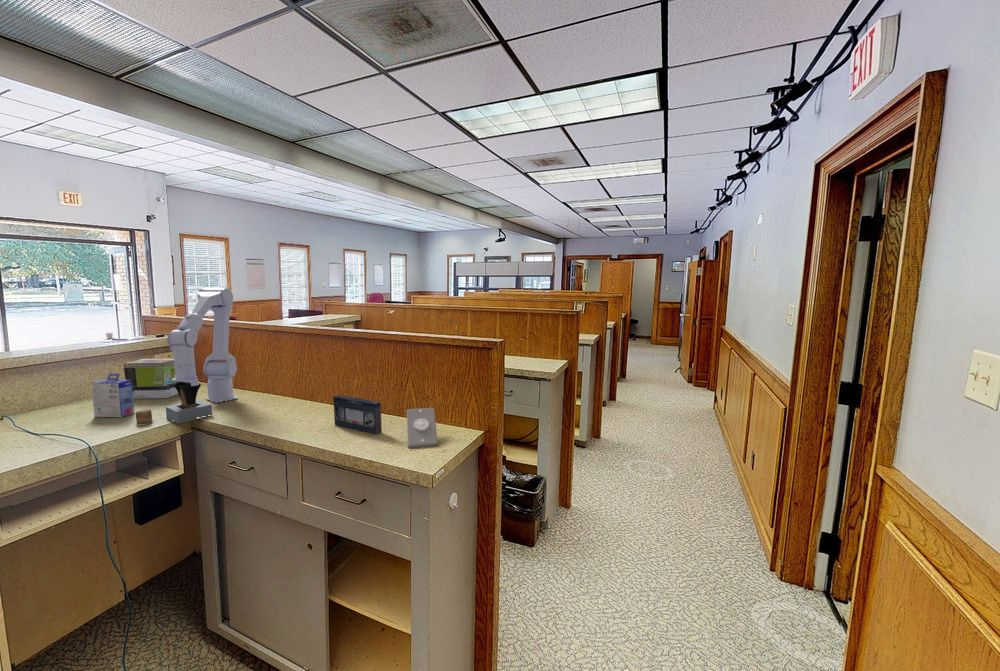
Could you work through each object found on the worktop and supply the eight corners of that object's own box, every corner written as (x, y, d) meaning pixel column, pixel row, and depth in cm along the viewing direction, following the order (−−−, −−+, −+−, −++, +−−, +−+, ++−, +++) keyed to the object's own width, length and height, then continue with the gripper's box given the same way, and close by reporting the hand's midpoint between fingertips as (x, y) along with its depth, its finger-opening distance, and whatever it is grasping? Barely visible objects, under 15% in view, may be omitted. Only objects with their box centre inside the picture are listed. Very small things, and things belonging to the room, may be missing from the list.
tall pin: (180, 411, 144) (178, 389, 143) (193, 408, 148) (191, 386, 147) (184, 413, 142) (182, 390, 141) (198, 410, 145) (196, 388, 144)
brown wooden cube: (134, 423, 138) (133, 411, 138) (149, 420, 142) (148, 408, 141) (139, 425, 136) (137, 414, 136) (154, 422, 139) (153, 410, 139)
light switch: (407, 443, 119) (406, 406, 131) (408, 456, 123) (406, 419, 134) (437, 441, 121) (434, 405, 133) (437, 454, 125) (433, 418, 136)
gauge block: (166, 417, 144) (165, 406, 143) (199, 410, 152) (198, 399, 151) (178, 423, 138) (177, 411, 138) (212, 415, 147) (211, 404, 146)
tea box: (183, 392, 176) (180, 357, 174) (165, 399, 166) (162, 362, 164) (146, 392, 175) (142, 357, 173) (126, 399, 165) (122, 362, 163)
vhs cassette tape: (334, 425, 138) (332, 396, 137) (341, 423, 141) (340, 394, 139) (375, 435, 130) (374, 404, 128) (382, 432, 132) (381, 402, 131)
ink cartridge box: (136, 412, 149) (131, 373, 147) (121, 417, 143) (117, 376, 141) (108, 412, 149) (104, 372, 147) (93, 417, 144) (88, 376, 142)
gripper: (162, 363, 143) (166, 402, 145) (179, 369, 135) (183, 409, 137) (186, 360, 149) (189, 397, 151) (204, 365, 141) (207, 404, 143)
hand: (188, 403), depth 144 cm, fingers closed on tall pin, 4 cm apart
